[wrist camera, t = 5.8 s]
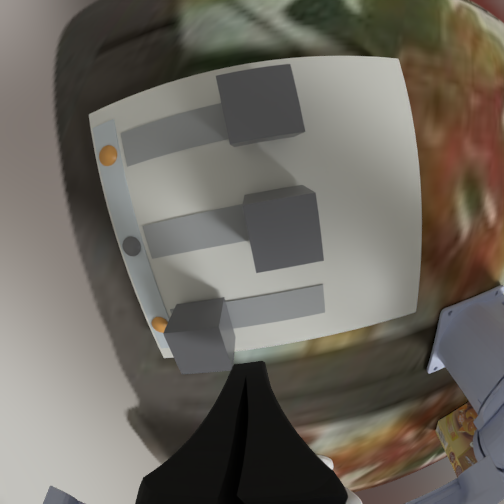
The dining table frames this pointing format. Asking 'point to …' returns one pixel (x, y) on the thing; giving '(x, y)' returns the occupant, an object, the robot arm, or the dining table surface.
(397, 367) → the dining table surface
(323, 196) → the switch panel
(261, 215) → the dark gray cube
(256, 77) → the gray cube
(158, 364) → the dining table surface
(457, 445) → the candy box
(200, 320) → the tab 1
